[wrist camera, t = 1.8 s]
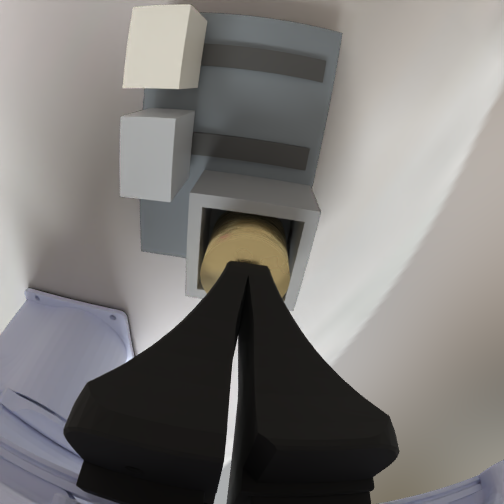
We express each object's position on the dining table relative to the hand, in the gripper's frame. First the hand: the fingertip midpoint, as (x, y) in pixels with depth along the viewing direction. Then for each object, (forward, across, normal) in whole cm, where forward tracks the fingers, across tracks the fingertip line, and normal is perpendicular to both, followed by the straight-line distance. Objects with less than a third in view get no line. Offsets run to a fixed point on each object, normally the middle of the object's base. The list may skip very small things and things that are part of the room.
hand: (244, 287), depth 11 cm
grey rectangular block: (+4, +4, -4) cm, 7 cm away
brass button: (+3, 0, 0) cm, 3 cm away
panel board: (+6, +2, -4) cm, 7 cm away
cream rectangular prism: (+4, +4, -8) cm, 10 cm away
